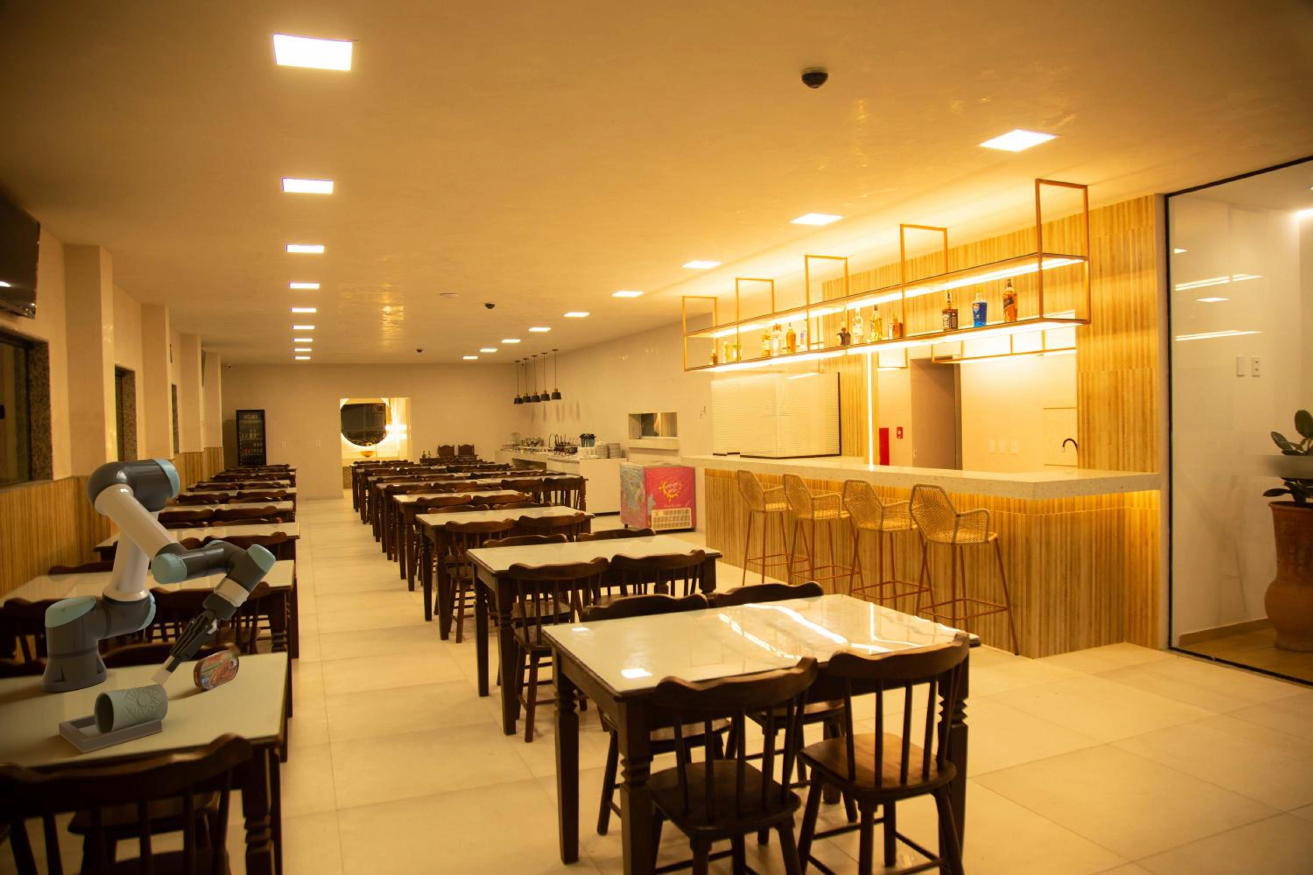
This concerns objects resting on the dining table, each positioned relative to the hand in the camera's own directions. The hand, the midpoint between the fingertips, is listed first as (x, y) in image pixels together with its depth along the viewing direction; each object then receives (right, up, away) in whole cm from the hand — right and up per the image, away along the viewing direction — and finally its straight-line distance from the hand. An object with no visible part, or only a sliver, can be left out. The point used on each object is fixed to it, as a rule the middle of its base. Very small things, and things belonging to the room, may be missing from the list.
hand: (156, 682), depth 204 cm
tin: (0, -9, +27) cm, 29 cm away
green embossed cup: (+2, -4, -2) cm, 5 cm away
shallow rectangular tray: (-6, -10, -7) cm, 14 cm away
